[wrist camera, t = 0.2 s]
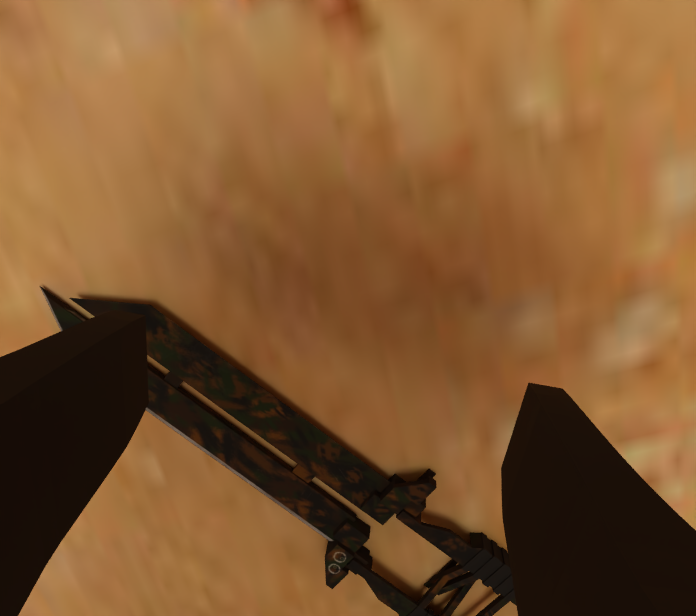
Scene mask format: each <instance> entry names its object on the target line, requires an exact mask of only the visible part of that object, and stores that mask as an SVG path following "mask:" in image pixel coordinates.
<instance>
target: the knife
mask: <svg viewBox="0 0 696 616" xmlns="http://www.w3.org/2000/svg"><path fill="white" fill-rule="evenodd" d="M40 288H41V290H42V292H43V294H44V296H45V299H46V301H47V303H48V305H49V307H50V309H51V311H52V313H53V315H54V317H55V320H56V322H57V324H58V326H59V328H60V330H61V331H63V330H65V329H68V328H70V327H72V326H75V325H77V324H79V323H81V322H84V321H86V319H85V318H84V317H82V316H81V315H79V314H78V313H77V312H75V311H74V310H73V309H71V308H70V307H68V306H67V305H66V304H64V303H63V302H62V301H60V300H59V299H57V298H56V297H55V296H53V295H52V294H50V293H49V292H48V291H46V290H45V289H44V288H42V287H41V286H40ZM70 299H71V300H73V301H74V302H75V303H77V304H78V305H80V306H81V307H82V308H84V309H85V310H86V311H88V312H89V313H91V314H92V315H93V316H95V317H96V316H98V315H101V314H104V313H106V312H109V311H112V310H119V311H125V312H130V313H136V314H142V315H146V340H147V355H149V356H150V357H151V358H153V359H154V360H155V361H157V362H158V363H160V364H161V365H162V366H164V367H165V368H166V369H168V370H169V371H170V372H169V373H168V374H167V375H166V377H165V376H164V375H162V374H161V373H160V372H158V371H157V370H156V369H154V368H153V367H151V366H150V365H149V364H147V367H148V394H149V403H148V405H147V408H146V411H148V412H149V413H151V414H152V415H153V416H155V417H156V418H158V419H159V420H160V421H162V422H163V423H165V424H166V425H167V426H169V427H170V428H172V429H173V430H174V431H176V432H177V433H179V434H180V435H181V436H183V437H184V438H186V439H187V440H188V441H190V442H191V443H193V444H194V445H195V446H197V447H198V448H200V449H201V450H203V451H204V452H205V453H207V454H208V455H210V456H211V457H212V458H214V459H215V460H217V461H218V462H219V463H221V464H222V465H224V466H225V467H226V468H228V469H229V470H231V471H232V472H233V473H235V474H236V475H238V476H239V477H240V478H242V479H243V480H245V481H246V482H247V483H249V484H250V485H252V486H253V487H254V488H256V489H257V490H259V491H260V492H261V493H263V494H264V495H266V496H267V497H268V498H270V499H271V500H273V501H274V502H275V503H277V504H278V505H280V506H281V507H283V508H284V509H285V510H287V511H288V512H290V513H291V514H292V515H294V516H295V517H297V518H298V519H299V520H301V521H302V522H304V523H305V524H306V525H308V526H309V527H311V528H312V529H313V530H315V531H316V532H318V533H319V534H320V535H322V536H323V537H325V538H326V539H327V540H329V541H328V545H327V550H326V554H325V572H326V585H327V586H329V587H330V588H332V589H333V588H334V587H335V586H336V585H337V584H338V583H339V582H340V581H341V580H342V579H343V578H344V577H345V576H346V575H347V574H348V571H349V570H350V571H352V572H353V573H354V574H359V575H360V576H361V577H363V578H364V579H365V580H366V582H367V583H368V585H369V586H370V588H371V589H372V591H373V592H374V594H375V595H376V597H377V598H378V599H379V600H380V601H381V602H383V603H384V604H386V605H387V606H389V607H390V608H391V609H393V610H394V611H396V612H397V613H398V614H399V616H436V615H434V611H432V610H431V609H430V608H428V609H426V607H427V606H428V604H429V603H430V602H431V601H432V599H433V598H434V597H435V596H436V595H441V594H443V593H446V592H448V591H451V590H453V589H456V588H458V587H459V588H458V590H457V591H456V592H455V594H454V595H453V597H452V598H451V599H450V601H449V602H448V604H447V605H446V606H445V608H444V609H443V610H442V612H441V613H440V615H439V616H451V615H452V613H453V612H454V610H455V609H456V608H457V606H458V605H459V603H460V602H461V601H462V599H463V598H464V597H465V595H466V594H467V592H468V591H469V590H470V588H471V587H472V585H473V584H474V583H475V581H476V580H478V579H481V580H482V583H483V584H484V585H485V586H487V587H489V586H490V587H492V589H493V592H495V593H496V594H501V595H499V596H498V597H497V598H496V599H495V600H493V601H492V602H491V603H490V604H489V605H488V606H486V607H485V608H484V609H483V610H482V611H480V612H479V613H478V614H477V615H476V616H493V615H494V614H495V613H496V612H497V611H499V610H500V609H501V608H502V607H503V606H505V605H506V604H507V603H508V602H509V601H511V602H512V603H514V604H515V605H516V606H517V604H516V598H515V592H514V586H513V580H512V574H511V568H510V562H509V556H508V553H507V551H506V550H505V549H504V548H500V547H499V546H497V543H496V542H494V541H493V540H489V539H488V538H487V536H486V535H485V534H483V533H482V532H481V533H470V539H471V545H470V544H469V543H468V542H466V541H465V540H464V539H462V538H461V537H460V536H458V535H457V534H455V533H454V532H453V531H451V530H450V529H446V528H442V527H438V526H435V525H431V524H427V523H424V522H421V512H422V511H423V510H424V509H425V508H426V497H427V496H429V495H430V494H431V493H432V492H433V491H434V490H435V489H436V480H434V479H433V477H434V476H435V475H436V473H434V472H433V471H432V470H430V469H428V470H427V471H426V472H425V473H424V474H423V475H422V476H421V477H420V478H419V479H418V480H417V481H413V482H406V481H404V480H403V479H402V478H400V477H399V476H398V475H396V474H394V475H393V476H392V477H391V478H390V479H389V480H387V479H385V478H384V477H383V476H381V475H380V474H379V473H377V472H376V471H375V470H373V469H372V468H371V467H369V466H368V465H367V464H365V463H364V462H362V461H361V460H360V459H358V458H357V457H356V456H354V455H353V454H352V453H350V452H349V451H348V450H346V449H345V448H343V447H342V446H341V445H339V444H338V443H337V442H335V441H334V440H333V439H331V438H330V437H329V436H327V435H326V434H324V433H323V432H322V431H320V430H319V429H318V428H316V427H315V426H314V425H312V424H311V423H310V422H308V421H307V420H305V419H304V418H303V417H301V416H300V415H299V414H297V413H296V412H295V411H293V410H292V409H291V408H289V407H288V406H286V405H285V404H284V403H282V402H281V401H280V400H278V399H277V398H276V397H274V396H273V395H272V394H270V393H269V392H267V391H266V390H265V389H263V388H262V387H261V386H259V385H258V384H257V383H255V382H254V381H253V380H251V379H250V378H249V377H247V376H246V375H244V374H243V373H242V372H240V371H239V370H238V369H236V368H235V367H234V366H232V365H231V364H230V363H228V362H227V361H225V360H224V359H223V358H221V357H220V356H219V355H217V354H216V353H215V352H213V351H212V350H211V349H209V348H208V347H206V346H205V345H204V344H202V343H201V342H200V341H198V340H197V339H196V338H194V337H193V336H192V335H190V334H189V333H187V332H186V331H185V330H183V329H182V328H181V327H179V326H178V325H177V324H175V323H174V322H173V321H171V320H170V319H168V318H167V317H166V316H164V315H163V314H162V313H160V312H159V311H158V310H156V309H155V308H154V307H152V306H151V305H145V304H134V303H122V302H111V301H100V300H88V299H77V298H70ZM183 381H184V382H186V383H187V384H188V385H190V386H191V387H193V388H194V389H195V390H197V391H198V392H200V393H201V394H202V395H204V396H205V397H206V398H208V399H209V400H211V401H212V402H213V403H215V404H216V405H217V406H219V407H220V408H222V409H223V410H224V411H226V412H227V413H228V414H230V415H231V416H233V417H234V418H235V419H237V420H238V421H239V422H241V423H242V424H244V425H245V426H246V427H248V428H249V429H251V430H252V431H253V432H255V433H256V434H257V435H259V436H260V437H262V438H263V439H264V440H266V441H267V442H268V443H270V444H271V445H273V446H274V447H275V448H277V449H278V450H279V451H281V452H282V453H284V454H285V455H286V456H288V457H289V458H290V459H292V460H293V461H295V462H296V463H297V464H298V465H297V466H296V467H295V468H294V469H292V468H291V467H290V466H288V465H287V464H285V463H284V462H283V461H281V460H280V459H279V458H277V457H276V456H274V455H273V454H272V453H270V452H269V451H267V450H266V449H265V448H263V447H262V446H261V445H259V444H258V443H256V442H255V441H254V440H252V439H251V438H250V437H248V436H247V435H245V434H244V433H243V432H241V431H240V430H238V429H237V428H236V427H234V426H233V425H232V424H230V423H229V422H227V421H226V420H225V419H223V418H222V417H220V416H219V415H218V414H216V413H215V412H214V411H212V410H211V409H209V408H208V407H207V406H205V405H204V404H203V403H201V402H200V401H198V400H197V399H196V398H194V397H193V396H191V395H190V394H189V393H187V392H186V391H185V390H183V389H182V388H180V387H179V386H180V384H181V383H182V382H183ZM314 477H317V478H318V479H319V480H321V481H322V482H324V483H325V484H326V485H328V486H329V487H330V488H332V489H333V490H335V491H336V492H337V493H339V494H340V495H342V496H343V497H344V498H346V499H347V500H348V501H350V502H351V503H353V504H354V505H355V506H357V507H358V508H359V509H361V510H362V511H364V512H365V513H367V514H368V515H369V516H371V517H372V518H373V519H375V520H376V521H378V522H379V523H380V524H382V525H383V524H384V523H385V522H387V521H388V520H389V519H390V518H391V517H392V516H393V515H394V514H397V515H396V518H397V519H398V520H400V521H401V522H403V523H404V524H405V525H407V526H408V527H409V528H411V529H412V530H414V531H415V532H416V533H418V534H419V535H420V536H422V537H423V538H425V539H426V540H427V541H429V542H430V543H431V544H433V545H434V546H435V547H437V548H438V549H440V550H441V551H442V552H444V553H445V554H446V555H448V556H449V557H451V558H452V560H450V561H449V562H448V563H447V564H446V565H445V566H444V567H443V568H442V569H441V570H440V572H439V573H438V574H436V575H434V576H433V577H432V578H431V579H429V580H428V581H427V582H426V583H425V584H424V586H426V587H427V588H430V589H429V590H428V591H427V592H426V593H425V594H424V595H423V597H422V598H421V599H420V600H419V601H418V602H416V601H415V600H413V599H412V598H410V597H409V596H408V595H406V594H405V593H403V592H402V591H401V590H399V589H398V588H396V587H395V586H394V585H392V584H391V583H389V582H388V581H386V580H385V579H384V578H382V577H381V576H379V575H378V574H377V573H375V572H374V571H372V570H371V568H372V556H370V555H369V554H370V550H368V549H367V548H365V547H364V546H363V544H364V543H365V542H366V541H367V540H368V539H369V536H370V526H369V525H367V524H366V523H364V522H363V521H362V520H360V519H359V518H358V517H356V514H355V513H353V512H352V511H350V510H349V509H348V508H346V507H345V506H344V505H342V504H341V503H339V502H338V501H337V500H335V499H334V498H332V497H331V496H330V495H328V494H327V493H326V492H324V491H323V490H321V489H320V488H319V487H317V486H316V485H314V484H313V483H312V482H310V481H311V480H312V479H313V478H314ZM457 563H459V564H458V565H456V564H457ZM468 571H470V572H468ZM466 572H467V573H466ZM464 573H465V574H464ZM462 574H463V575H462ZM459 575H460V576H459ZM457 576H458V577H457ZM454 577H455V578H454ZM452 578H453V579H452ZM450 579H451V580H450Z"/></svg>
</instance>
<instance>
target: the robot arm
mask: <svg viewBox="0 0 696 616" xmlns="http://www.w3.org/2000/svg"><path fill="white" fill-rule="evenodd" d="M148 403H149V394H148V367H147V340H146V315H142V314H136V313H130V312H125V311H119V310H112V311H109V312H106V313H104V314H101V315H98V316H96V317H93V318H91V319H89V320H86V321H84V322H81V323H79V324H77V325H75V326H72V327H70V328H68V329H65V330H63V331H61V332H59V333H56V334H54V335H52V336H49V337H47V338H45V339H43V340H40V341H38V342H36V343H33V344H31V345H29V346H26V347H24V348H22V349H20V350H17V351H15V352H12V353H10V354H7V355H5V356H2V357H0V616H18V615H19V613H20V611H21V609H22V607H23V606H24V604H25V602H26V600H27V598H28V597H29V595H30V593H31V591H32V589H33V588H34V586H35V584H36V582H37V580H38V579H39V577H40V575H41V573H42V571H43V570H44V568H45V566H46V564H47V563H48V561H49V560H50V558H51V556H52V555H53V553H54V552H55V550H56V549H57V547H58V546H59V544H60V542H61V541H62V540H63V538H64V537H65V535H66V534H67V532H68V531H69V530H70V528H71V527H72V525H73V524H74V522H75V521H76V519H77V518H78V517H79V515H80V514H81V512H82V511H83V509H84V508H85V507H86V505H87V504H88V502H89V501H90V499H91V498H92V497H93V495H94V494H95V492H96V491H97V489H98V488H99V487H100V485H101V484H102V482H103V481H104V479H105V478H106V477H107V475H108V474H109V472H110V471H111V469H112V468H113V466H114V465H115V463H116V462H117V460H118V459H119V458H120V456H121V455H122V453H123V452H124V450H125V449H126V447H127V445H128V443H129V441H130V440H131V438H132V436H133V434H134V432H135V430H136V428H137V426H138V424H139V422H140V420H141V418H142V416H143V414H144V412H145V410H146V408H147V405H148ZM501 477H502V514H503V523H504V530H505V537H506V543H507V549H508V556H509V562H510V568H511V574H512V580H513V586H514V592H515V598H516V604H517V611H518V616H696V530H695V529H693V528H692V527H691V526H690V525H689V524H688V523H687V522H686V521H685V520H684V519H683V518H682V517H680V516H679V515H678V514H677V513H676V512H675V511H674V510H673V509H672V508H671V507H670V506H669V505H668V504H667V503H666V502H665V501H664V500H663V499H662V498H661V497H660V496H659V495H658V494H657V493H656V492H655V491H654V490H653V489H652V488H651V487H650V486H649V485H648V484H647V483H646V482H645V481H644V480H643V479H642V478H641V477H640V476H639V474H638V473H637V472H636V471H635V470H634V469H633V468H632V467H631V466H630V465H629V464H628V463H627V462H626V460H625V459H624V458H623V457H622V456H621V455H620V454H619V453H618V452H617V450H616V449H615V448H614V447H613V446H612V445H611V444H610V443H609V441H608V440H607V439H606V438H605V437H604V436H603V434H602V433H601V432H600V431H599V430H598V429H597V427H596V426H595V425H594V424H593V423H592V422H591V420H590V419H589V418H588V417H587V416H586V415H585V413H584V412H583V411H582V410H581V409H580V408H579V406H578V405H577V404H576V403H575V402H574V401H573V400H572V398H571V397H570V396H569V395H568V394H567V393H566V392H565V391H564V390H563V389H561V388H556V387H550V386H544V385H539V384H533V383H528V386H527V389H526V392H525V395H524V399H523V402H522V405H521V408H520V411H519V414H518V417H517V420H516V424H515V427H514V430H513V433H512V436H511V439H510V442H509V445H508V449H507V452H506V455H505V458H504V461H503V464H502V467H501Z"/></svg>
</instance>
